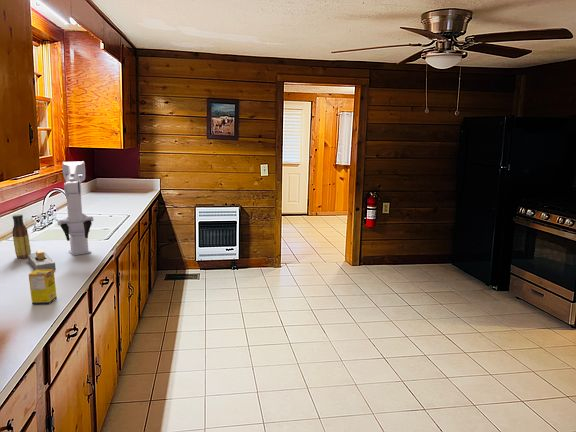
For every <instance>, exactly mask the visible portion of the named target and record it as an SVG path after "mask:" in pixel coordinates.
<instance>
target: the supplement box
mask: <svg viewBox="0 0 576 432" xmlns="http://www.w3.org/2000/svg"><path fill="white" fill-rule="evenodd" d="M55 278H56V277H55V270H54V269H36V270H35V269H34V270H33V271H32V272H30V273H28V282H29V290H30V298H31V304H34V305H49V304H48V303H50V302H51V303H52V301H53V300H54V299H55V300H56V299H57V288H56V287H57V286H56V281H55V280H56V279H55ZM55 300H54V301H55ZM54 301H53V302H54ZM51 303H50V304H51Z"/></svg>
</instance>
